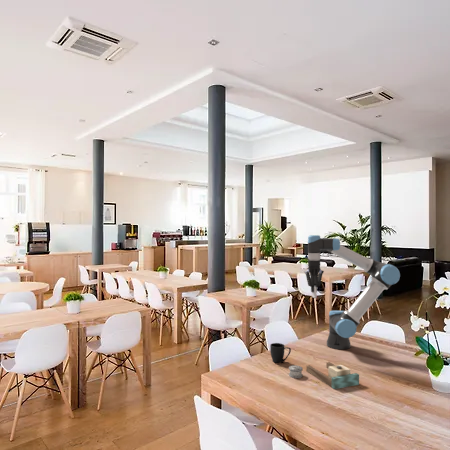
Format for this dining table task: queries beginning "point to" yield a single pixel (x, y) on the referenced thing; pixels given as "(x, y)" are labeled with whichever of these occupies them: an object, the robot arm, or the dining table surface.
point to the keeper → (338, 371)
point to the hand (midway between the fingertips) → (314, 297)
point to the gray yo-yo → (295, 371)
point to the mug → (278, 352)
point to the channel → (334, 378)
